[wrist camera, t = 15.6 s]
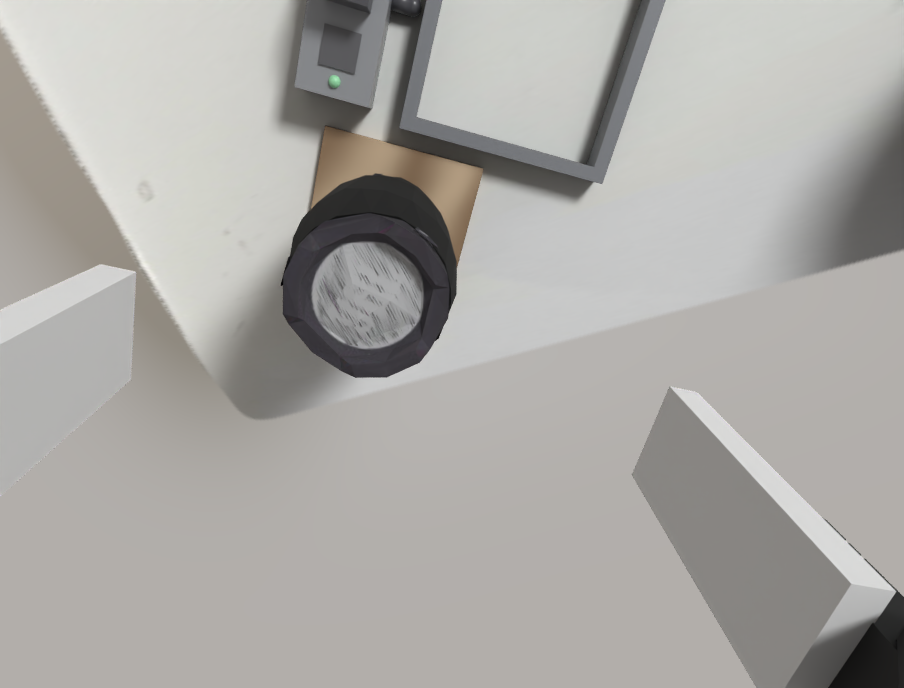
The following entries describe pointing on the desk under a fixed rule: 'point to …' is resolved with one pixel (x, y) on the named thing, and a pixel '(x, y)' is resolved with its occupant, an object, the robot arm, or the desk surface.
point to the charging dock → (595, 170)
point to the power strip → (343, 48)
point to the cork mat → (401, 175)
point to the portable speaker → (370, 276)
